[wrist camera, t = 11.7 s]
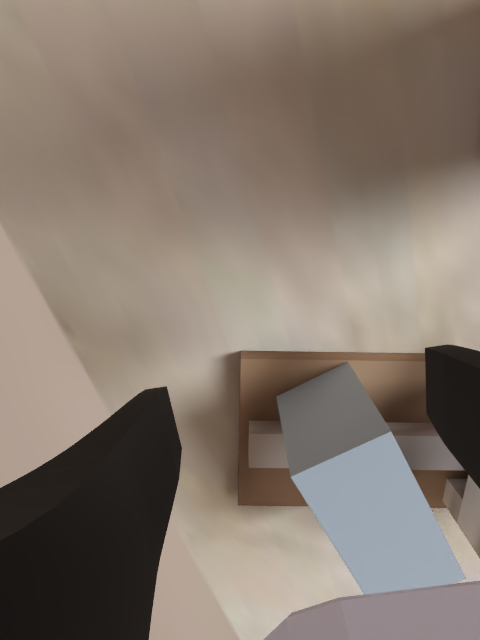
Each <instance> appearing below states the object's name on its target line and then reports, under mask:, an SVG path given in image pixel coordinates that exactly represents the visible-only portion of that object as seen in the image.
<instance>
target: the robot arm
mask: <svg viewBox="0 0 480 640" xmlns="http://www.w3.org/2000/svg"><path fill="white" fill-rule="evenodd" d="M425 372H426V414H427V415H428V417H429V419H430V421H431V423H432V424H433V426H434V428H435V430H436V431H437V433H438V435H439V436H440V438H441V440H442V441H443V443H444V444H445V446H446V447H447V448H448V449H449V451H450V452H451V453H452V455H453V456H454V457H455V458H456V460H457V461H458V462H459V463H460V465H461V466H462V467H463V469H464V470H465V471H466V472H467V474H468V475H469V476H470V477H471V478H472V480H473V481H474V482H475V483H476V485H477V486H478V487H479V488H480V351H476V350H472V349H468V348H464V347H460V346H455V345H442V346H435V347H428V348H425ZM181 450H182V447H181V443H180V439H179V435H178V431H177V427H176V423H175V419H174V415H173V410H172V406H171V402H170V398H169V394H168V390H167V386H166V387H160V388H153V389H146V390H144V391H142V392H141V393H139V394H138V395H137V396H135V397H134V398H133V399H131V400H130V401H129V402H128V403H126V404H125V405H124V406H123V407H122V408H120V409H119V410H118V411H117V412H115V413H114V414H113V415H112V416H111V417H109V418H108V419H107V420H106V421H104V422H103V423H102V424H101V425H99V426H98V427H97V428H95V429H94V430H93V431H91V432H90V433H89V434H87V435H86V436H85V437H83V438H82V439H81V440H79V441H78V442H77V443H75V444H74V445H72V446H71V447H70V448H68V449H67V450H65V451H64V452H62V453H61V454H59V455H58V456H56V457H55V458H53V459H52V460H50V461H48V462H46V463H45V464H43V465H42V466H40V467H38V468H37V469H35V470H33V471H31V472H30V473H28V474H26V475H24V476H22V477H20V478H18V479H17V480H15V481H13V482H11V483H9V484H7V485H5V486H3V487H2V488H0V640H148V639H149V631H150V623H151V614H152V606H153V599H154V592H155V585H156V577H157V571H158V566H159V561H160V556H161V552H162V548H163V543H164V539H165V535H166V531H167V527H168V523H169V519H170V515H171V510H172V506H173V502H174V498H175V494H176V489H177V485H178V480H179V472H180V462H181ZM264 640H480V581H474V582H465V583H457V584H449V585H440V586H432V587H424V588H416V589H407V590H399V591H391V592H382V593H374V594H366V595H358V596H349V597H341V598H336V599H333V600H330V601H327V602H324V603H321V604H318V605H315V606H312V607H308V608H305V609H302V610H299V611H296V612H293V613H291V614H290V615H289V616H288V617H287V618H286V619H285V620H284V621H283V622H282V623H281V624H280V625H279V626H277V627H276V628H275V629H274V630H273V631H272V632H271V633H270V634H269V635H268V636H267V637H266V638H265V639H264Z"/></svg>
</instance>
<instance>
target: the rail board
mask: <svg viewBox="0 0 480 640" xmlns="http://www.w3.org/2000/svg"><path fill="white" fill-rule="evenodd" d="M346 362H348V363H349V364H350V366H351V367H352V369H353V371H354V372H355V374H356V376H357V377H358V379H359V380H360V382H361V384H362V385H363V387H364V388H365V390H366V392H367V393H368V395H369V396H370V398H371V400H372V401H373V403H374V404H375V406H376V408H377V409H378V411H379V412H380V414H381V416H382V417H383V419H384V421H385V422H386V424H387V425H388V427H389V429H390V430H391V432H392V434H393V436H394V438H395V440H396V442H397V444H398V446H399V448H400V449H401V451H402V453H403V455H404V457H405V459H406V461H407V463H408V465H409V467H410V469H411V471H412V473H413V475H414V477H415V479H416V481H417V483H418V485H419V487H420V489H421V491H422V493H423V495H424V497H425V499H426V501H427V503H428V504H429V506H430V508H448V510H449V512H450V513H451V515H452V516H453V518H454V519H455V521H456V522H457V524H458V525H459V527H460V529H461V530H462V532H463V533H464V535H465V536H466V538H467V539H468V541H469V542H470V544H471V545H472V547H473V549H474V550H475V552H476V553H477V555H478V556H479V558H480V488H479V487H478V486H477V485H476V483H475V482H474V481H473V480H472V478H471V477H470V476H469V475H468V474H467V472H466V471H465V470H464V469H463V467H462V466H461V465H460V463H459V462H458V461H457V460H456V458H455V457H454V456H453V455H452V453H451V452H450V451H449V449H448V448H447V447H446V446H445V444H444V443H443V441H442V440H441V438H440V436H439V435H438V433H437V431H436V430H435V428H434V426H433V424H432V423H431V421H430V419H429V417H428V415H427V414H426V372H425V354H412V353H345V352H279V351H241V364H240V416H239V468H238V505H259V506H309V505H308V504H307V502H306V501H305V499H304V498H303V496H302V494H301V493H300V491H299V490H298V488H297V486H296V485H295V483H294V482H293V480H292V478H291V476H290V471H289V465H288V460H287V454H286V448H285V443H284V437H283V431H282V426H281V420H280V415H279V409H278V403H277V398H276V397H277V396H279V395H281V394H283V393H285V392H287V391H289V390H291V389H293V388H295V387H297V386H299V385H301V384H303V383H305V382H307V381H309V380H311V379H313V378H315V377H317V376H319V375H322V374H324V373H326V372H328V371H330V370H332V369H334V368H336V367H338V366H340V365H342V364H344V363H346Z"/></svg>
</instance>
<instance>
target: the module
mask: <svg viewBox="0 0 480 640" xmlns="http://www.w3.org/2000/svg"><path fill="white" fill-rule="evenodd" d="M276 398H277V403H278V409H279V415H280V420H281V426H282V431H283V437H284V443H285V448H286V454H287V460H288V465H289V471H290V476H291V478H292V480H293V482H294V483H295V485H296V486H297V488H298V490H299V491H300V493H301V494H302V496H303V498H304V499H305V501H306V502H307V504H308V505H309V507H310V509H311V510H312V512H313V513H314V515H315V517H316V518H317V520H318V521H319V523H320V525H321V526H322V528H323V529H324V531H325V533H326V534H327V536H328V537H329V539H330V541H331V542H332V544H333V545H334V547H335V549H336V550H337V552H338V553H339V555H340V557H341V558H342V560H343V561H344V563H345V565H346V566H347V568H348V569H349V571H350V572H351V574H352V576H353V577H354V579H355V580H356V582H357V584H358V585H359V587H360V588H361V590H362V592H363V593H364V595H366V594H374V593H382V592H391V591H399V590H407V589H416V588H424V587H432V586H440V585H449V584H453V583H456V582H458V581H461V580H463V579H466V577H465V575H464V573H463V571H462V569H461V567H460V565H459V563H458V561H457V559H456V557H455V556H454V554H453V552H452V550H451V548H450V546H449V544H448V542H447V540H446V538H445V536H444V534H443V532H442V530H441V528H440V526H439V524H438V522H437V520H436V518H435V516H434V514H433V512H432V510H431V508H430V506H429V504H428V503H427V501H426V499H425V497H424V495H423V493H422V491H421V489H420V487H419V485H418V483H417V481H416V479H415V477H414V475H413V473H412V471H411V469H410V467H409V465H408V463H407V461H406V459H405V457H404V455H403V453H402V451H401V449H400V448H399V446H398V444H397V442H396V440H395V438H394V436H393V434H392V432H391V430H390V429H389V427H388V425H387V424H386V422H385V421H384V419H383V417H382V416H381V414H380V412H379V411H378V409H377V408H376V406H375V404H374V403H373V401H372V400H371V398H370V396H369V395H368V393H367V392H366V390H365V388H364V387H363V385H362V384H361V382H360V380H359V379H358V377H357V376H356V374H355V372H354V371H353V369H352V367H351V366H350V364H349V363H348V362H346V363H344V364H342V365H340V366H338V367H336V368H334V369H332V370H330V371H328V372H326V373H324V374H322V375H319V376H317V377H315V378H313V379H311V380H309V381H307V382H305V383H303V384H301V385H299V386H297V387H295V388H293V389H291V390H289V391H287V392H285V393H283V394H281V395H279V396H277V397H276Z"/></svg>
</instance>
